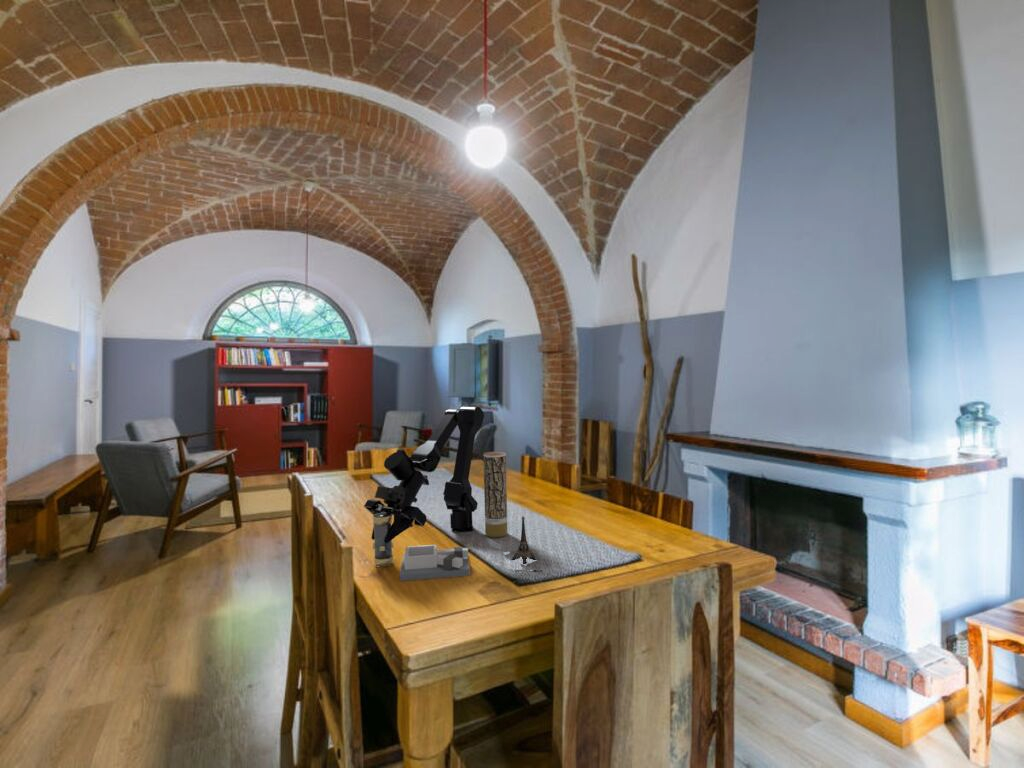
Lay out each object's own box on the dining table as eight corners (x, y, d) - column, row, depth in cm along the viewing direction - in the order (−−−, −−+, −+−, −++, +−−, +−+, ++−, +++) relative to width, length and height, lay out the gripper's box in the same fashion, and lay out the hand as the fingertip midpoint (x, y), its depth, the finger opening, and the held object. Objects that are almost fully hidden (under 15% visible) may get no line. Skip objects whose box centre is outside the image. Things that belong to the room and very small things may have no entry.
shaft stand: (466, 554, 140) (466, 538, 140) (470, 576, 125) (469, 558, 125) (403, 559, 137) (403, 543, 137) (399, 582, 123) (399, 563, 123)
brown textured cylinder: (504, 538, 152) (503, 455, 151) (482, 537, 153) (480, 455, 153) (509, 531, 159) (507, 451, 158) (488, 530, 160) (486, 451, 159)
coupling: (394, 559, 138) (393, 511, 137) (393, 566, 132) (391, 517, 132) (374, 560, 137) (373, 513, 136) (372, 568, 132) (370, 518, 131)
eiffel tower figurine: (502, 553, 142) (501, 505, 142) (538, 551, 143) (537, 504, 142) (503, 574, 127) (502, 521, 127) (544, 573, 128) (543, 520, 127)
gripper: (368, 470, 142) (336, 519, 133) (417, 476, 132) (387, 531, 123) (389, 492, 149) (361, 540, 140) (438, 499, 139) (411, 552, 130)
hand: (379, 540), depth 133 cm, fingers closed on coupling, 4 cm apart
